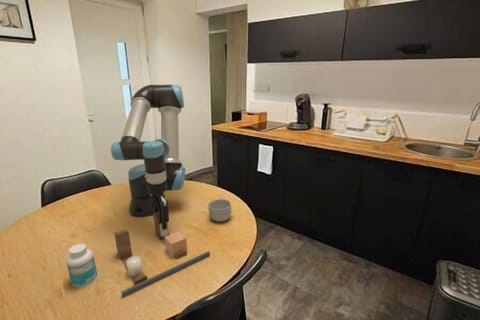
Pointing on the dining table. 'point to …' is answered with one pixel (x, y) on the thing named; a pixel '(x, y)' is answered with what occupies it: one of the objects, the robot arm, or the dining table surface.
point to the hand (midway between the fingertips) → (162, 232)
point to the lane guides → (164, 274)
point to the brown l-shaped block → (158, 233)
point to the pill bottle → (81, 265)
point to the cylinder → (134, 266)
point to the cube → (175, 243)
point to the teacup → (219, 209)
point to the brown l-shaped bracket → (126, 251)
